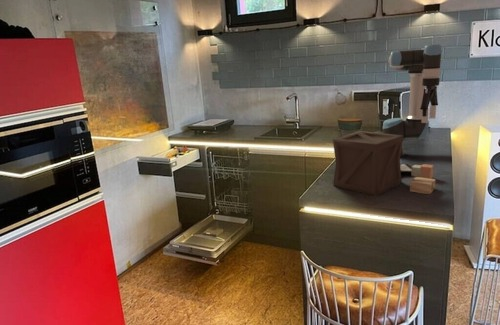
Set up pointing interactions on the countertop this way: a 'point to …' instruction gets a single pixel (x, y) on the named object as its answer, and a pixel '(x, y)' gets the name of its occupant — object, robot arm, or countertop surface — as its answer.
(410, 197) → the countertop surface
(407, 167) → the empty snack wrapper
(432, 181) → the oak block
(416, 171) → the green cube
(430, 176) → the terracotta block
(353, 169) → the wooden crate
